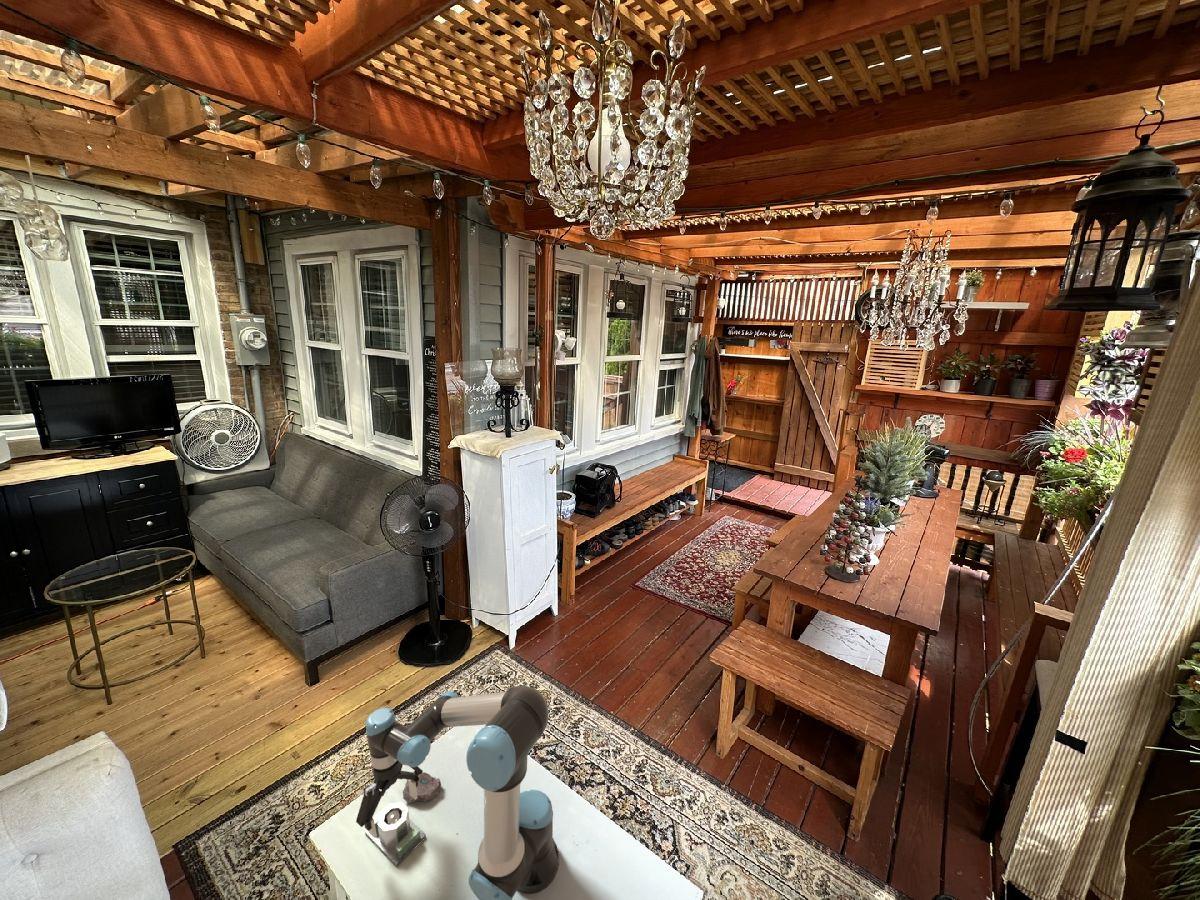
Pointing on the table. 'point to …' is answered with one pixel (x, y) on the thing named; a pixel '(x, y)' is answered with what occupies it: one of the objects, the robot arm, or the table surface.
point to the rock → (423, 788)
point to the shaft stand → (404, 846)
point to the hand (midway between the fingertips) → (394, 815)
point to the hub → (393, 825)
